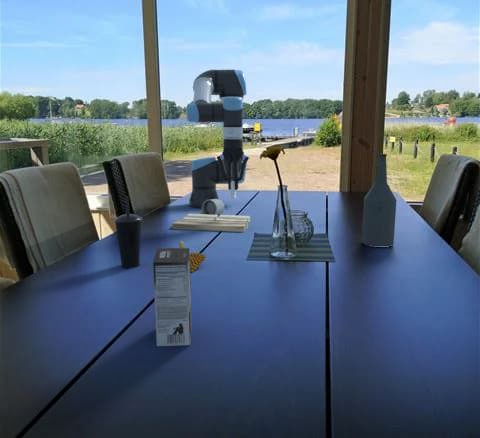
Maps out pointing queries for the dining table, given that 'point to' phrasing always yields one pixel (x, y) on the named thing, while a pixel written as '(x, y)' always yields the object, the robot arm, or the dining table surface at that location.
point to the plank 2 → (233, 218)
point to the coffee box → (172, 296)
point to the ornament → (194, 258)
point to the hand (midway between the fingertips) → (233, 197)
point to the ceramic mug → (212, 207)
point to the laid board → (210, 225)
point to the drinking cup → (129, 238)
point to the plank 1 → (201, 216)
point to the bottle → (379, 210)
